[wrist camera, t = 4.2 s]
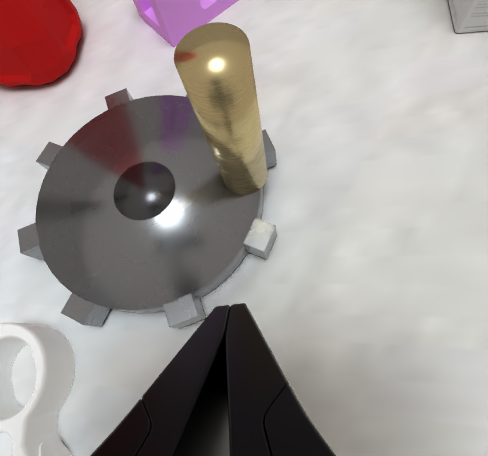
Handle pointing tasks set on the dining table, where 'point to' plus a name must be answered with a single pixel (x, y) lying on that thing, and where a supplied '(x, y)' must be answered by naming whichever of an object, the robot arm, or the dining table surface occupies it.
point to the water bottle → (37, 40)
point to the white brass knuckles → (35, 388)
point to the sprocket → (159, 190)
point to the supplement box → (469, 15)
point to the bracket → (179, 15)
